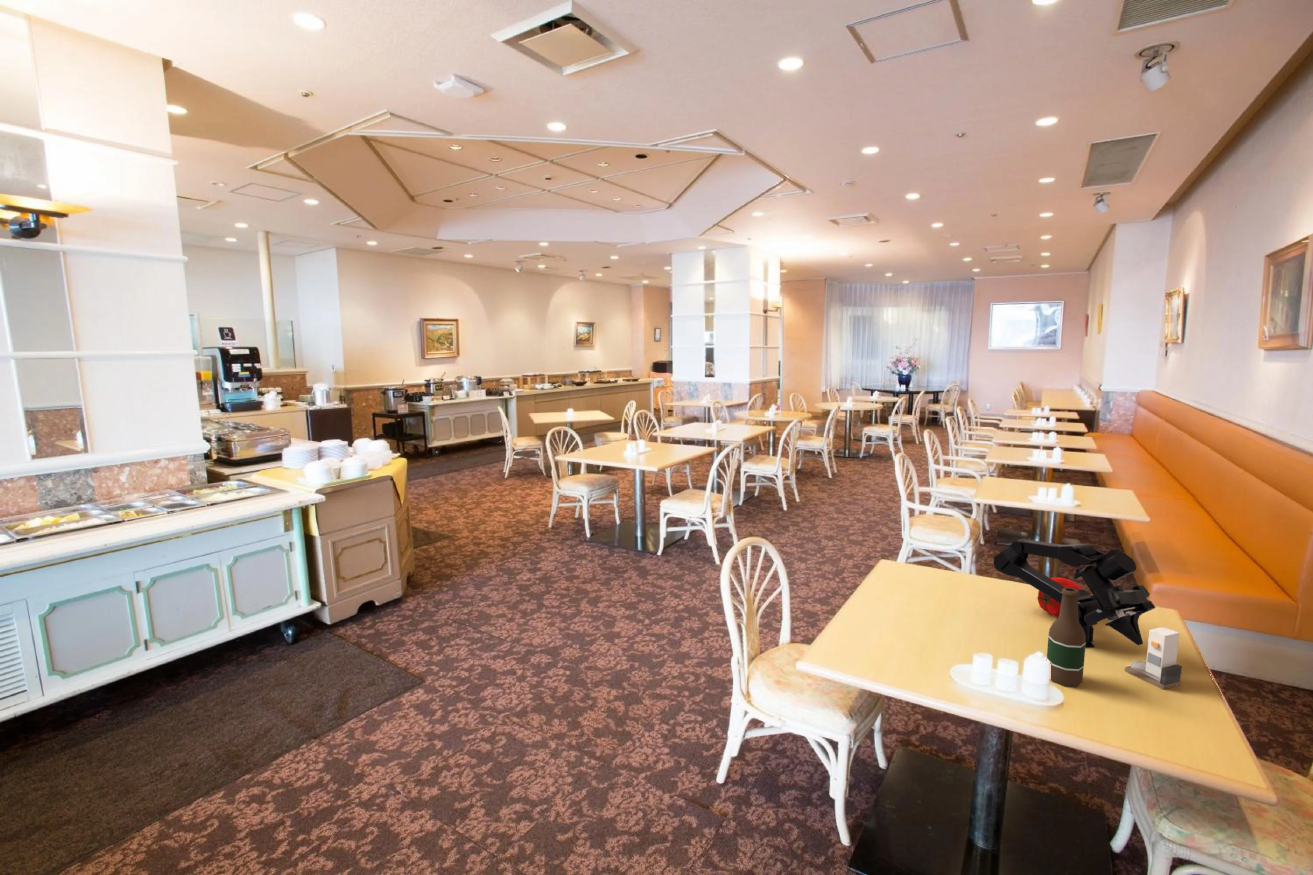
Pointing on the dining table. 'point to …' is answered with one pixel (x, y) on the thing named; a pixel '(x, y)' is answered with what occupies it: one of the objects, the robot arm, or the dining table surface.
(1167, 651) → the switch module
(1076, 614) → the beer bottle
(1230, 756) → the dining table surface
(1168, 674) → the rail board
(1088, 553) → the robot arm
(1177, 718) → the dining table surface
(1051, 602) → the tomato
